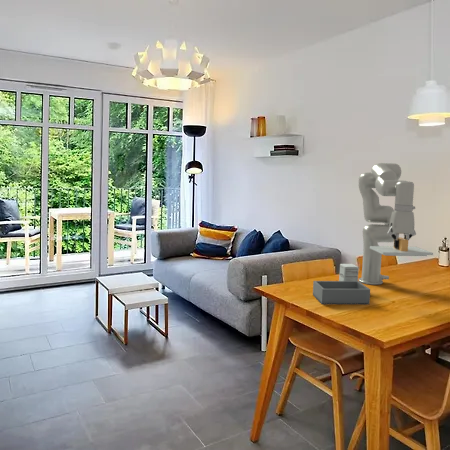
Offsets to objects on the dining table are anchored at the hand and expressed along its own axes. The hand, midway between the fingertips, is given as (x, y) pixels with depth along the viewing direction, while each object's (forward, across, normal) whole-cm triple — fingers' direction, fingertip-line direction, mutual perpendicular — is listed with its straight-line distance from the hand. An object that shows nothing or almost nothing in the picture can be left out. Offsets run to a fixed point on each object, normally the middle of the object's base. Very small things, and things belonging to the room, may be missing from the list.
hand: (400, 248), depth 204 cm
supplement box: (+25, +16, -20) cm, 36 cm away
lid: (+2, 0, 0) cm, 2 cm away
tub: (+25, +26, -2) cm, 36 cm away
